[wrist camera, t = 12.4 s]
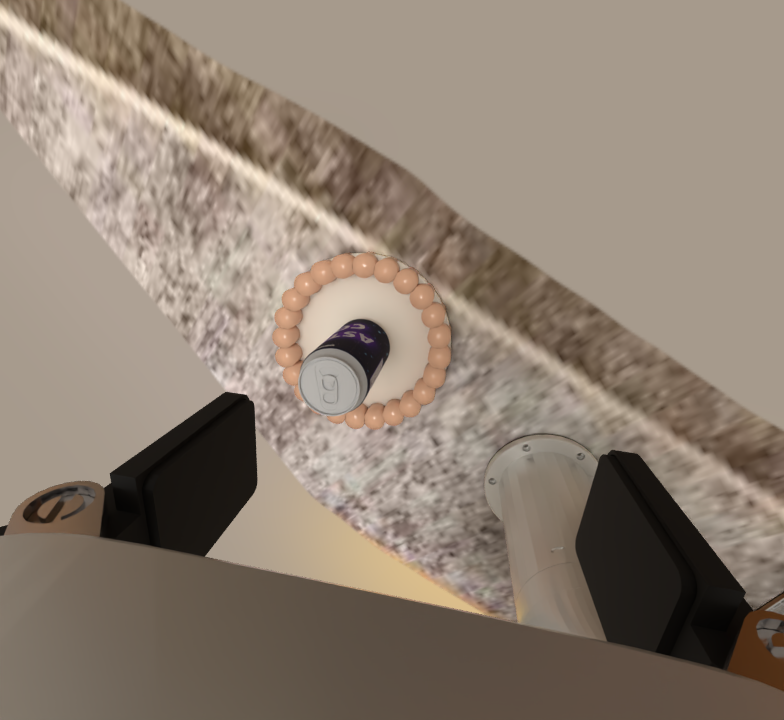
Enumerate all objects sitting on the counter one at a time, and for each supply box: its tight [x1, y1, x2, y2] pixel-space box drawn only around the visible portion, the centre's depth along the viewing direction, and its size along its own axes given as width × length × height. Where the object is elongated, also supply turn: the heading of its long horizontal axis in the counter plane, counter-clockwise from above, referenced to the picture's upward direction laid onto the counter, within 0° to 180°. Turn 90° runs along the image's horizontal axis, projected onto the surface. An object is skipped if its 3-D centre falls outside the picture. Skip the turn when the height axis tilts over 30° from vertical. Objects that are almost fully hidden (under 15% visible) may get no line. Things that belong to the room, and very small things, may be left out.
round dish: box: [272, 252, 451, 430], centre depth 40 cm, size 18×18×3 cm
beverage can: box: [298, 319, 390, 416], centre depth 35 cm, size 6×6×12 cm
